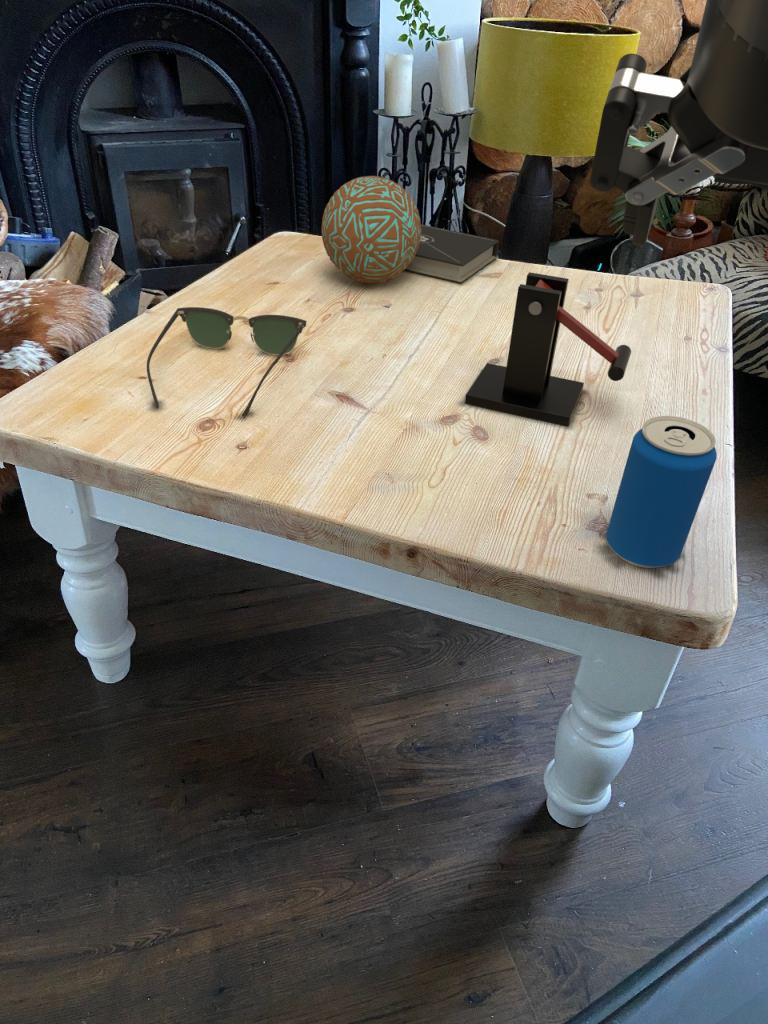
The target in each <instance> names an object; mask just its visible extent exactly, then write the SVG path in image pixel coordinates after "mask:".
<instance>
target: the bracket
mask: <svg viewBox="0 0 768 1024" xmlns="http://www.w3.org/2000/svg"><path fill="white" fill-rule="evenodd" d="M540 279H541V280H542V281H543V282H544V283H546V284H547V285H548V286H549V287H550V288H552V289H553V290H552V289H547V288H541V287H535V285H536V284H537V283H538V281H539V280H540ZM569 280H570V279H569V278H566V277H561V276H554V275H548V274H543V273H538V272H537V273H536V272H532V271H531V272H530V271H529V272H528V273H527V275H526V279H525V284H524V283H520V284H519V285H518V287H517V293H516V301H515V307H514V313H513V320H512V328H511V334H510V341H509V348H508V353H507V354H508V355H507V361H506V366H505V365H499V364H494V363H489V362H486V364H485V365H484V366H483V368H482V370H481V371H480V373H479V374H478V376H476V379H475V380H474V382H473V383H472V385H471V386H470V388H469V389H468V390H467V392H466V394H465V398H464V399H465V400H464V404H465V405H469V406H473V407H479V408H483V409H487V410H491V411H496V412H500V413H505V414H509V415H515V416H519V417H523V418H526V419H527V418H528V419H533V420H536V421H542V422H546V423H550V424H555V425H560V426H564V427H569V425H570V423H571V420H572V418H573V416H574V413H575V410H576V408H577V405H578V403H579V400H580V398H581V396H582V392H583V389H584V386H585V385H584V384H585V383H584V382H582V381H578V380H573V379H568V378H564V377H559V376H553V375H552V369H553V365H554V358H555V354H556V350H557V345H558V338H559V334H560V333H559V332H560V329H561V323H560V322H559V321H558V320H557V314H558V309H559V306H560V307H562V308H563V309H564V306H565V301H566V296H567V291H568V286H569Z"/></svg>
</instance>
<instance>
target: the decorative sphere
mask: <svg viewBox="0 0 768 1024" xmlns="http://www.w3.org/2000/svg"><path fill="white" fill-rule="evenodd" d="M421 221H422V220H421V216H420V212H419V209H418V207H417V205H416V202H415V201H414V199H413V198H412V197H411V195H410V194H409V192H408V191H406V190H405V188H403V187H402V185H399V184H398V183H397V182H395V181H393V180H392V179H389V178H386V177H383V176H378V175H365V176H359V177H356V178H352V179H351V180H349V181H347V182H345V183H344V184H343V185H341V186H340V187H339V189H337V190H336V191H334V193H333V195H332V196H331V197H330V198H329V201H328V202H327V204H326V205H325V208H324V211H323V215H322V221H321V240H322V244H323V247H324V250H325V253H326V255H327V257H329V260H330V261H331V263H332V264H333V265H334V267H335V268H336V269H337V270H339V272H341V273H342V274H344V275H345V276H347V277H349V279H352V280H355V281H357V282H361V283H366V284H376V283H382V282H385V281H388V280H390V279H391V280H392V279H394V278H395V277H397V276H399V275H400V274H401V273H402V272H404V270H405V269H406V268H407V267H408V265H409V264H410V263H411V261H412V260H413V258H414V257H415V255H416V253H417V250H418V247H419V244H420V238H421V224H422V222H421Z"/></svg>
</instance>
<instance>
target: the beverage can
mask: <svg viewBox="0 0 768 1024" xmlns="http://www.w3.org/2000/svg"><path fill="white" fill-rule="evenodd" d="M716 443H717V439H716V437H715V435H714V433H713V432H712V431H711V430H710V429H709V428H708V427H706V426H705V425H703V424H701V423H699V422H698V421H694V420H692V419H689V418H686V417H681V416H674V415H658V416H653V417H651V418H648V419H646V420H645V421H644V423H643V424H642V426H641V428H640V429H639V430H637V432H636V433H635V434H634V435H633V438H632V441H631V445H630V448H629V452H628V455H627V459H626V462H625V466H624V469H623V472H622V477H621V479H620V484H619V486H618V490H617V494H616V497H615V501H614V504H613V508H612V511H611V516H610V519H609V522H608V525H607V530H606V533H605V538H606V542H607V545H608V546H609V548H610V549H611V551H612V552H614V553H615V554H616V555H617V556H618V557H619V558H620V559H622V560H623V561H625V562H627V563H628V564H631V565H633V566H636V567H640V568H645V569H655V568H664V567H667V566H670V565H673V564H674V563H676V562H678V560H679V559H680V558H681V556H682V554H683V551H684V548H685V545H686V543H687V539H688V537H689V535H690V531H691V529H692V525H693V523H694V520H695V519H696V515H697V513H698V510H699V507H700V504H701V502H702V500H703V497H704V494H705V491H706V488H707V486H708V483H709V480H710V478H711V475H712V472H713V469H714V467H715V464H716V461H717V457H718V456H717V455H718V454H717V449H716V447H715V446H716Z"/></svg>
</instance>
